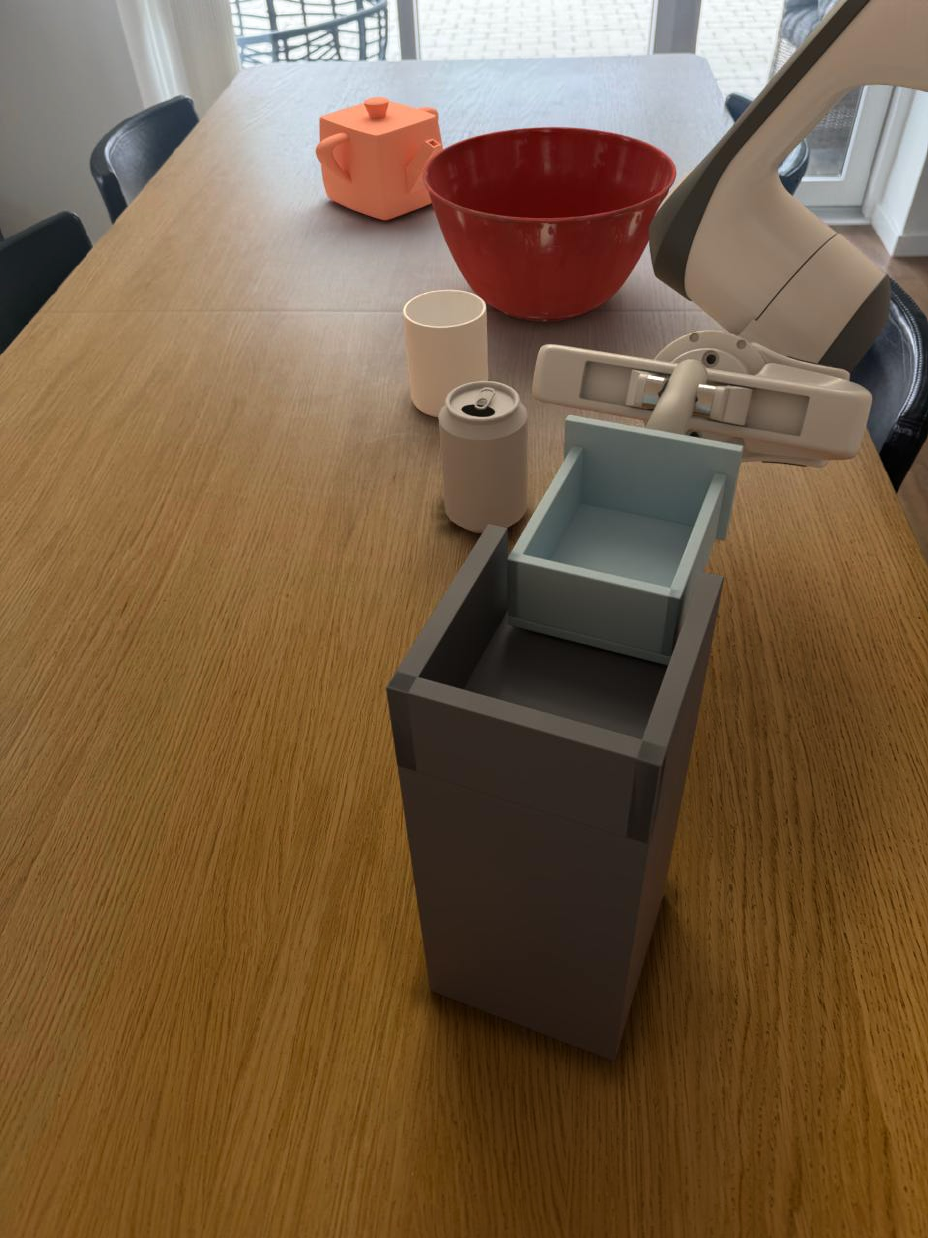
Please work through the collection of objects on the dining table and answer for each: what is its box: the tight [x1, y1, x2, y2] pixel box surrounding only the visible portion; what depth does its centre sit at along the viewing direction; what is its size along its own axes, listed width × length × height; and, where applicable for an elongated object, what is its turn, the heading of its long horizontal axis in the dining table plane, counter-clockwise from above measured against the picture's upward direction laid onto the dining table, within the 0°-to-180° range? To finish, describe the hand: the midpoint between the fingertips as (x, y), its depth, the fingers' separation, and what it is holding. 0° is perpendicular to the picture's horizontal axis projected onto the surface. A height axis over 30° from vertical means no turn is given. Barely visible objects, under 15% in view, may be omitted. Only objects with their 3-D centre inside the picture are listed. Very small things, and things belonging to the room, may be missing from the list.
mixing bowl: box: [423, 126, 677, 323], centre depth 114 cm, size 28×28×15 cm
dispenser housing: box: [385, 524, 725, 1062], centre depth 49 cm, size 11×11×26 cm
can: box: [438, 380, 529, 534], centre depth 84 cm, size 8×8×12 cm
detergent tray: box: [507, 359, 744, 665], centre depth 50 cm, size 9×20×6 cm, turn 157°
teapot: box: [315, 96, 444, 221], centre depth 138 cm, size 20×22×14 cm
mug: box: [402, 289, 489, 418], centre depth 100 cm, size 12×8×10 cm
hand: (678, 396), depth 53 cm, fingers closed on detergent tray, 2 cm apart
